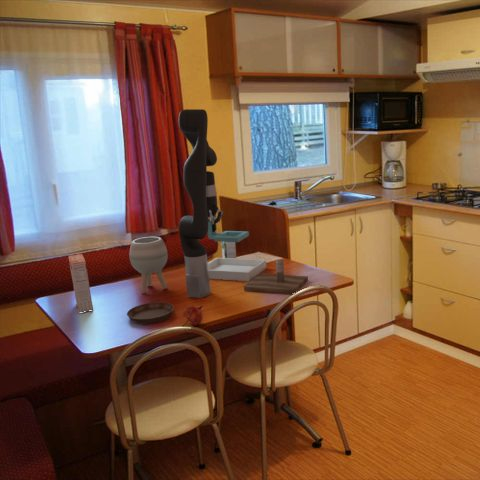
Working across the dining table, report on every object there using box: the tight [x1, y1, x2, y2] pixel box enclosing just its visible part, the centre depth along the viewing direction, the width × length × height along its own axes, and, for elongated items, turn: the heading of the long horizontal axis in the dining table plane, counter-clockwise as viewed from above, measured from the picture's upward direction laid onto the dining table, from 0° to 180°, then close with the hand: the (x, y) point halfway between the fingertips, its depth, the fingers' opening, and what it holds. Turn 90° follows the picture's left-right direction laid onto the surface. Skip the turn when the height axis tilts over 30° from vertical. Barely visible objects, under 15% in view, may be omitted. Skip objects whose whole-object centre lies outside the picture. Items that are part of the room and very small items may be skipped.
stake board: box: [243, 259, 309, 295], centre depth 228 cm, size 18×22×11 cm
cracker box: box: [68, 253, 94, 313], centre depth 219 cm, size 14×6×21 cm, turn 21°
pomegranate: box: [182, 305, 204, 327], centre depth 194 cm, size 7×7×10 cm
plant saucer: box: [126, 301, 175, 325], centre depth 205 cm, size 18×18×3 cm
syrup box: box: [221, 236, 237, 259], centre depth 269 cm, size 6×6×14 cm
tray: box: [208, 257, 267, 282], centre depth 252 cm, size 20×26×4 cm
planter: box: [128, 236, 168, 295], centre depth 235 cm, size 16×16×22 cm
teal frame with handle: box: [207, 219, 250, 243], centre depth 248 cm, size 12×17×8 cm
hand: (211, 231), depth 252 cm, fingers closed on teal frame with handle
